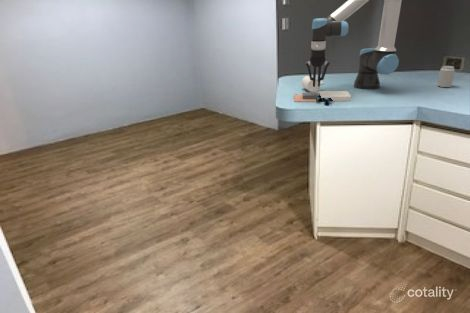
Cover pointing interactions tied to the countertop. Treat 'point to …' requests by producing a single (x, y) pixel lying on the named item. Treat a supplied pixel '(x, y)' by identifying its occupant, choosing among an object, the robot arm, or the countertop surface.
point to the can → (446, 76)
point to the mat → (300, 99)
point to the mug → (309, 83)
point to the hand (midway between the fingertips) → (315, 92)
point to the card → (310, 95)
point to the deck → (336, 95)
